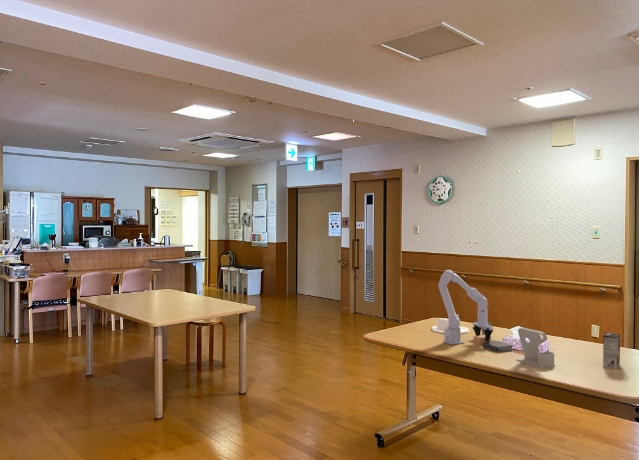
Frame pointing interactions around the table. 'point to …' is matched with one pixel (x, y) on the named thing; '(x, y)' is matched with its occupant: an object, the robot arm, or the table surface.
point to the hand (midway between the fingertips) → (482, 339)
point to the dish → (446, 326)
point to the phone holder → (534, 348)
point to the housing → (479, 340)
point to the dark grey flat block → (497, 346)
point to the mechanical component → (484, 328)
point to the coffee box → (611, 350)
